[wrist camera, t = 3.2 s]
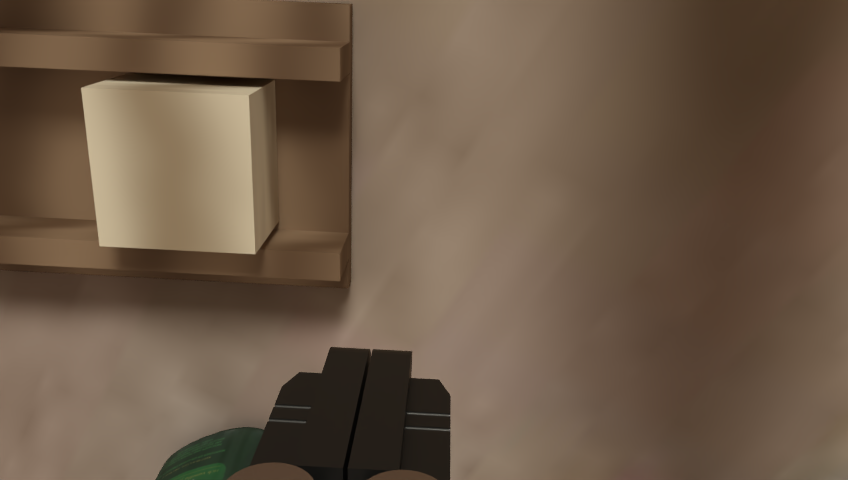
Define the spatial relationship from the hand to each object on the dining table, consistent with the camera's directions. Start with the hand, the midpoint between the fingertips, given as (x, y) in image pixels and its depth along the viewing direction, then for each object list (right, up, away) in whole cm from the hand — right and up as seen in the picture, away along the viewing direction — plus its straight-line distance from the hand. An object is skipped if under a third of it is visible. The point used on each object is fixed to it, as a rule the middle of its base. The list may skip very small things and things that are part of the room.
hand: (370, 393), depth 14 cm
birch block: (-8, +7, +17) cm, 20 cm away
